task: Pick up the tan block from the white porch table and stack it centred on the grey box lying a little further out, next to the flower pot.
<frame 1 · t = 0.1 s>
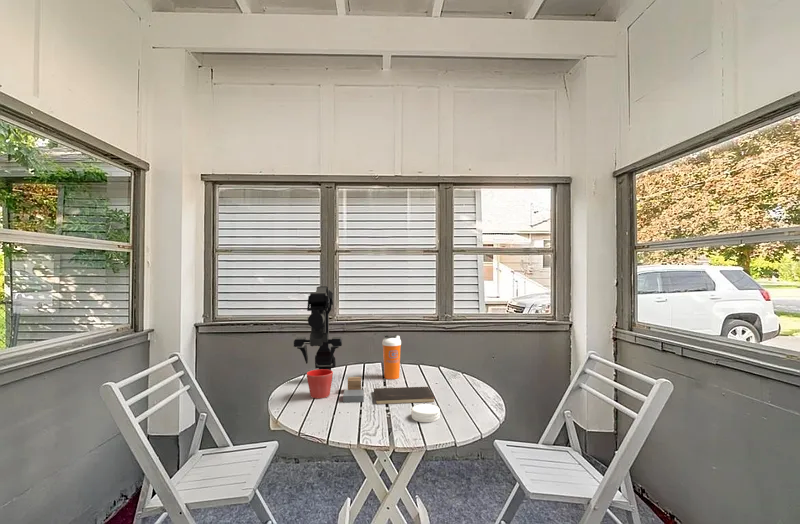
hand: (318, 363, 179), 15 cm above the table, fingers open, 9 cm apart
shaker bottle: (391, 377, 212), on the table
flower pot: (319, 396, 184), on the table
tan block: (354, 391, 190), on the table
hardcover book: (403, 398, 182), on the table
grey box: (353, 398, 180), on the table
coaster: (425, 418, 159), on the table
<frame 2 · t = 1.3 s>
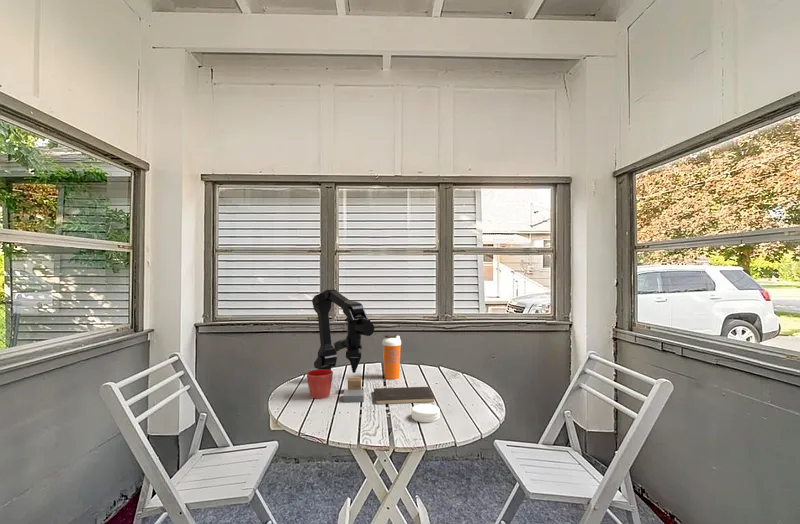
hand: (354, 369, 190), 9 cm above the table, fingers open, 9 cm apart
nothing on the table moved.
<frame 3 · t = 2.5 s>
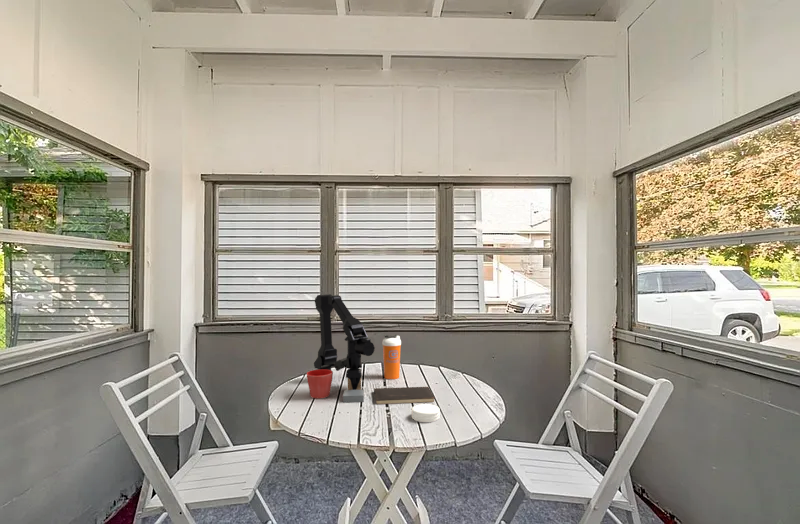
hand: (354, 389, 190), 1 cm above the table, fingers closed on tan block, 5 cm apart
tan block: (354, 391, 190), on the table, touching gripper
everything else where it was.
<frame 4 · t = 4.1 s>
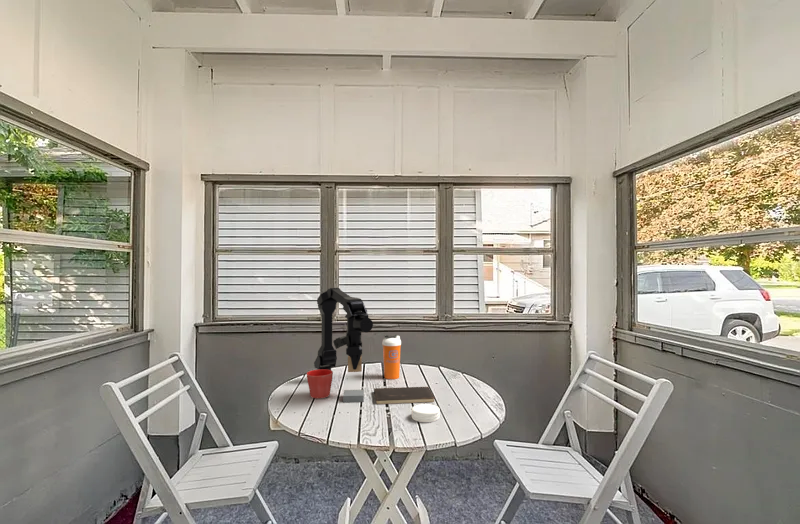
hand: (354, 367, 183), 12 cm above the table, fingers closed on tan block, 5 cm apart
tan block: (354, 370, 183), point 11 cm above the table, touching gripper
everything else where it was.
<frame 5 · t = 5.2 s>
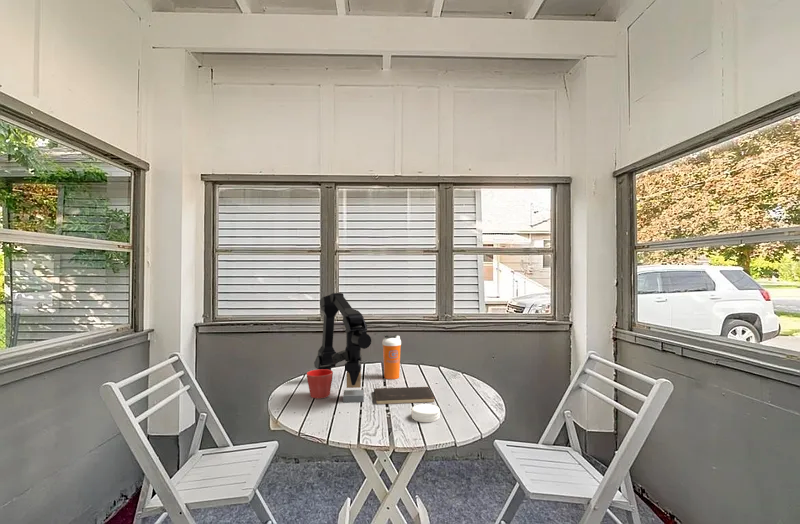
hand: (353, 383, 180), 6 cm above the table, fingers closed on tan block, 5 cm apart
tan block: (353, 385, 180), point 5 cm above the table, touching gripper
everything else where it was.
when the fingers open (5 cm above the table, at t = 5.9 s): tan block drops 1 cm, resting on grey box.
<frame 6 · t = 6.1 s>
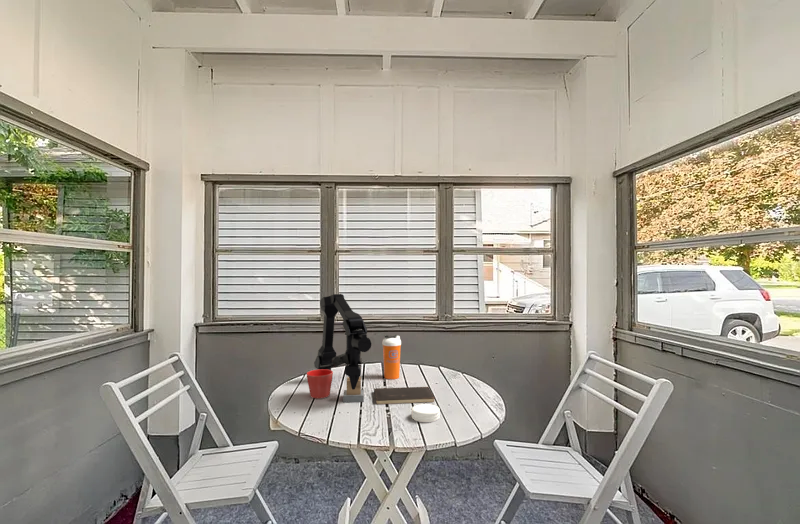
hand: (353, 386, 180), 5 cm above the table, fingers open, 8 cm apart
tan block: (353, 392, 180), point 2 cm above the table, touching grey box
everything else where it was.
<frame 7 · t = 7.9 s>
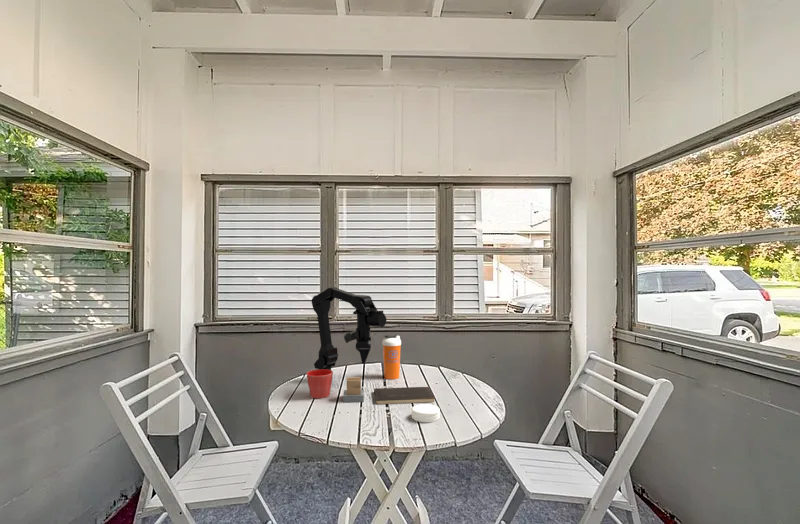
hand: (363, 361, 194), 12 cm above the table, fingers open, 9 cm apart
nothing on the table moved.
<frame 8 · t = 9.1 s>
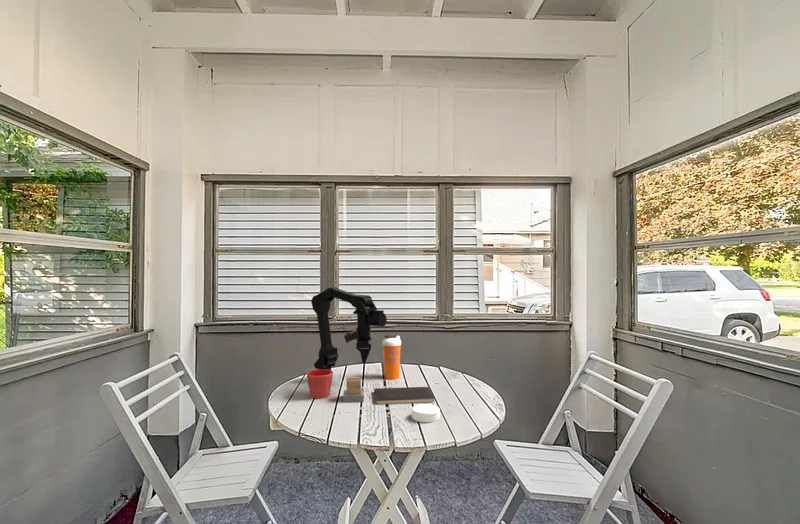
hand: (363, 360, 194), 12 cm above the table, fingers open, 9 cm apart
nothing on the table moved.
at the end: tan block 0.0 cm off-centre on the grey box, point 2.5 cm above the grey box's base; tan block tilted 0°; the gripper is holding nothing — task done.
